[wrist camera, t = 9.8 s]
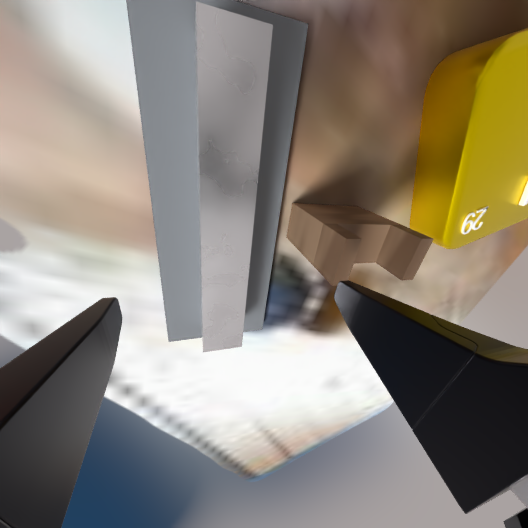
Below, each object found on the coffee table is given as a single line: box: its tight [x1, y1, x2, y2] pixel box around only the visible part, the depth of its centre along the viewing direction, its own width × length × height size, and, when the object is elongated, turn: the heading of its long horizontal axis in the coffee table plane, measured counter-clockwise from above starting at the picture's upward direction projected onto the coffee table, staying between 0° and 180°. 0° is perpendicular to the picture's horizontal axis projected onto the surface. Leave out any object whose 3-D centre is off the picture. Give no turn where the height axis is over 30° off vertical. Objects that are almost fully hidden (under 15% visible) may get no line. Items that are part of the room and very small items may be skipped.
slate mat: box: [126, 0, 308, 342], centre depth 17 cm, size 9×23×1 cm, turn 173°
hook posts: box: [287, 203, 433, 286], centre depth 13 cm, size 6×19×8 cm, turn 173°
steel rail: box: [194, 1, 273, 352], centre depth 15 cm, size 3×20×3 cm, turn 173°
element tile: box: [410, 28, 528, 249], centre depth 19 cm, size 15×15×5 cm
